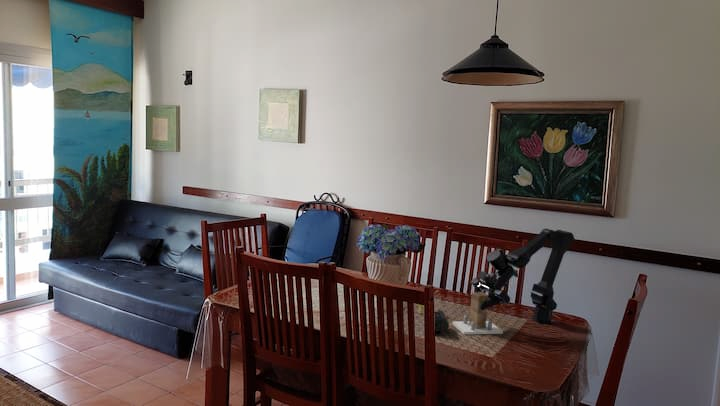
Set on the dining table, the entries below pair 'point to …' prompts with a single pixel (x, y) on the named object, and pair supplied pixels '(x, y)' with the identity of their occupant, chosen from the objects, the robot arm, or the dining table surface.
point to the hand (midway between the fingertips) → (476, 306)
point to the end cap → (441, 323)
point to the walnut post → (478, 309)
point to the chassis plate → (471, 329)
